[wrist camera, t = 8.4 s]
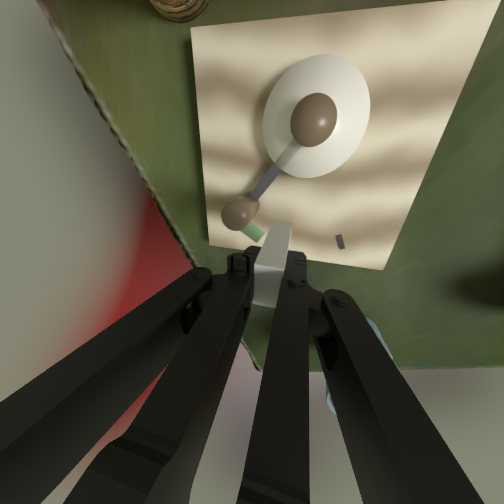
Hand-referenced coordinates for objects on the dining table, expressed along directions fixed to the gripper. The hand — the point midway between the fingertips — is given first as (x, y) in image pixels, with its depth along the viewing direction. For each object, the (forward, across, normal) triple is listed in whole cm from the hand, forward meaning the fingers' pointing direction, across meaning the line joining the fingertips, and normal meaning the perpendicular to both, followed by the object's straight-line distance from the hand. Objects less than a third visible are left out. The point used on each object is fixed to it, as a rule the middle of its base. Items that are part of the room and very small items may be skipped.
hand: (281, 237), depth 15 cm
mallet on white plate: (+10, -1, +5) cm, 12 cm away
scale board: (+12, +1, +4) cm, 13 cm away
